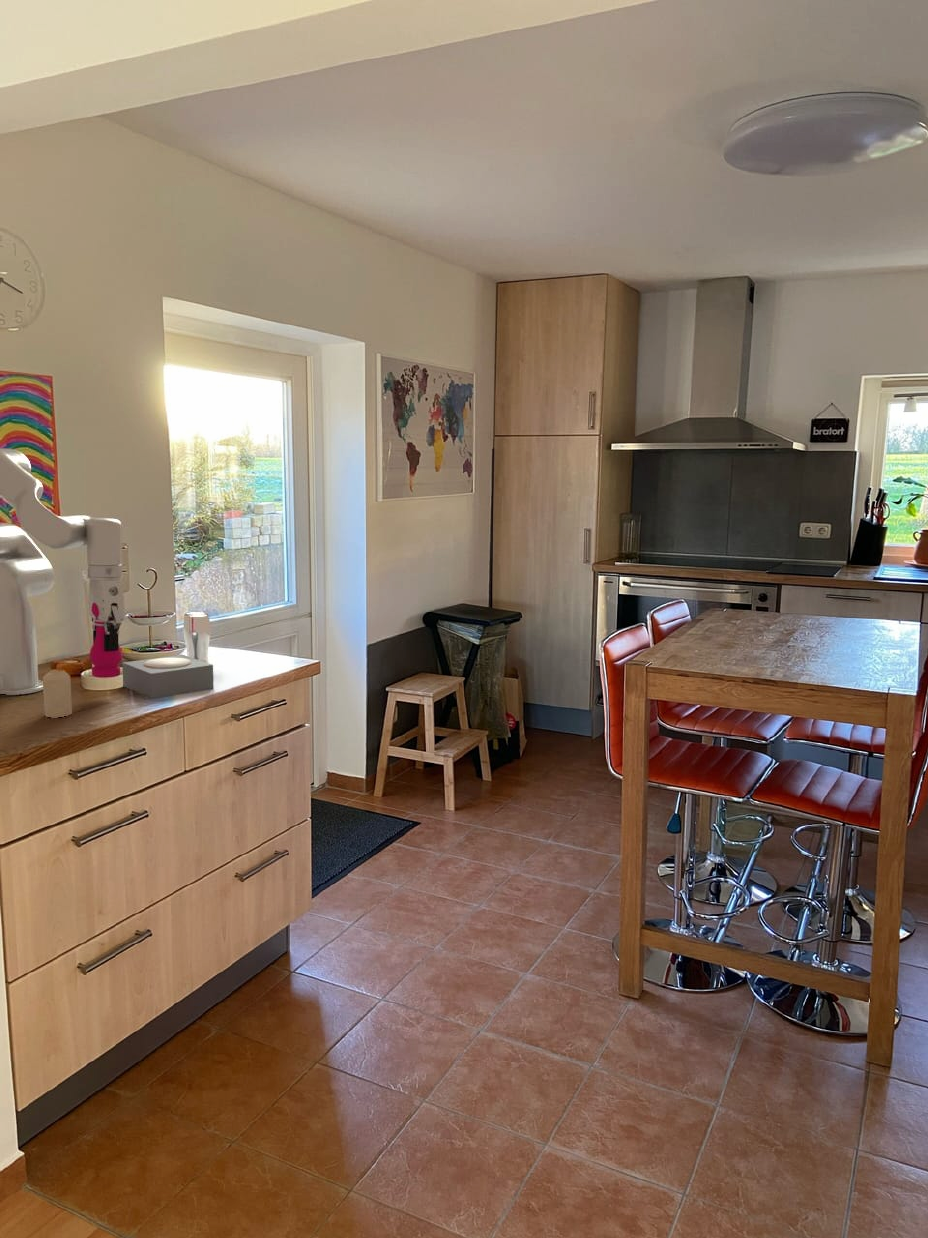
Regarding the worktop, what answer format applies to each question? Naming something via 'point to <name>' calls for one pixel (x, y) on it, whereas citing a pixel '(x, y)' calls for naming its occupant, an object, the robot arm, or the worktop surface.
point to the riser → (167, 676)
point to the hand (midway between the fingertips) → (105, 647)
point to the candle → (57, 694)
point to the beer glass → (197, 635)
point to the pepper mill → (103, 652)
